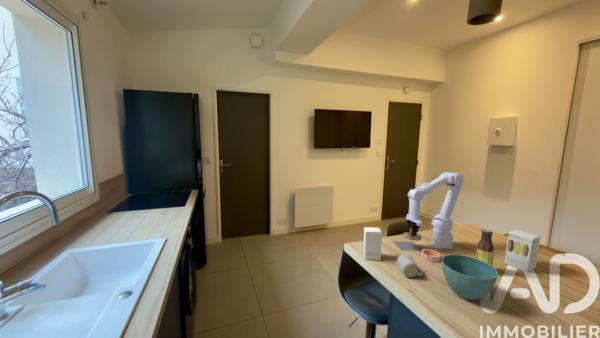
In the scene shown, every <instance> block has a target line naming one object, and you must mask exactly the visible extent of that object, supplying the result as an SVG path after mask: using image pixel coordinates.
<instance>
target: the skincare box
mask: <svg viewBox="0 0 600 338" xmlns="http://www.w3.org/2000/svg"><path fill="white" fill-rule="evenodd" d="M382 234H383V232H382V230H381V228H380V227H376V226H375V227H373V226H372V227H371V226H369V227H368V226H367V227H366V226H364V227H363V246H362V254H363V258H364V260H366V261H368V260H370V261H381V260H382V236H383V235H382Z"/></svg>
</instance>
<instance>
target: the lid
mask: <svg viewBox="0 0 600 338" xmlns="http://www.w3.org/2000/svg"><path fill="white" fill-rule="evenodd" d="M402 237H403V238H405V239H407V240H411V241H416V242H417V241H422V239H423V238H422V236H421V235H420V234H418V233H417V234H416V235H412V230H411V228H410V232H403V233H402Z"/></svg>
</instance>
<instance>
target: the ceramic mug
mask: <svg viewBox="0 0 600 338" xmlns="http://www.w3.org/2000/svg"><path fill="white" fill-rule="evenodd" d="M396 265H397V266H398V268H399V269H400V271H401V273H403V275H404V276H405V277H407V278H414V277H416V276H419V277H422V276H423V275H424V272H423V270H422V269H421V268H420V267H419V266H418V264H417V263H416V261H415V260H414V259H413V257H412V256H411V255H409V254H406V253H404V254H401V255H399V256H398V257H397V259H396Z"/></svg>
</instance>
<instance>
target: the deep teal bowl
mask: <svg viewBox="0 0 600 338" xmlns="http://www.w3.org/2000/svg"><path fill="white" fill-rule="evenodd" d="M441 257H442V258H441V268H442V273H443V275H444V276H443V277H444V278H445V281H446V282H447V284H448V287H450V289H451V290H452V292H453V293H454V294H455V295H456V296H458V297H460V298H462V299H465V300H469V301H477V300H480V299H481V298H484V297H485V296H486V295H488V294H489V293H490V292H491V290H493V288H494V286H495V285H496V283H497V280H498V276H499V273H498V271H497V269H496V268H494V267H493V266H490V265H489V264H487V263H485V262H483V261H481V260H478V259H476V258H474V257H471V256H467V255H461V254H445V255H444V256H441Z"/></svg>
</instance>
